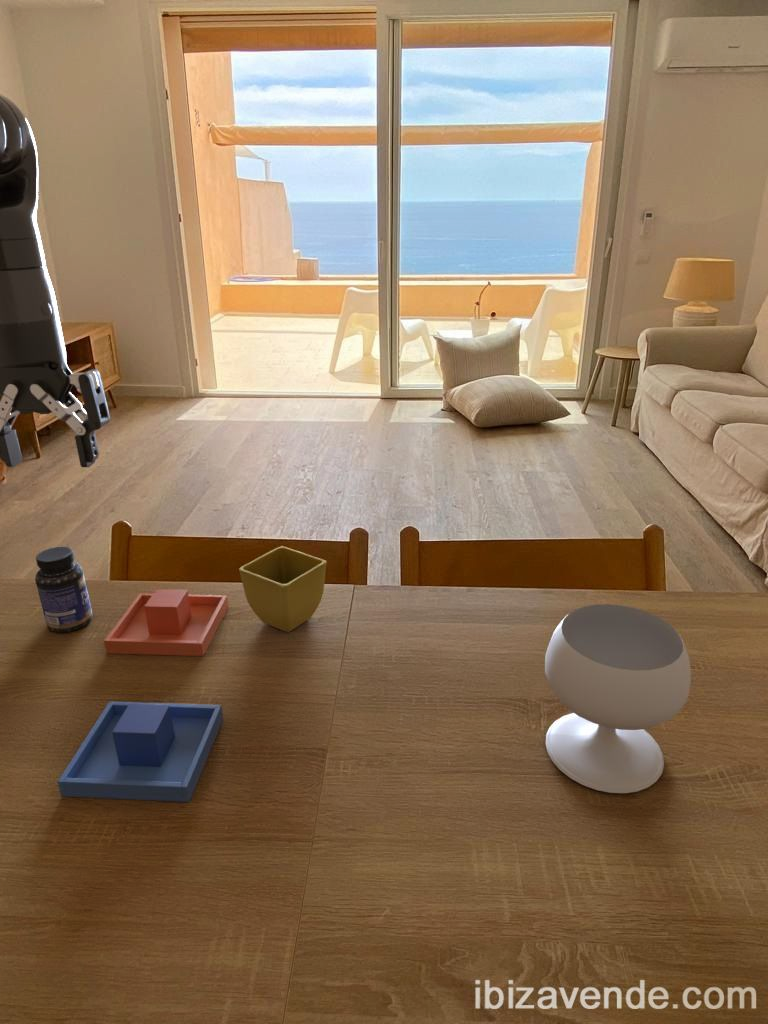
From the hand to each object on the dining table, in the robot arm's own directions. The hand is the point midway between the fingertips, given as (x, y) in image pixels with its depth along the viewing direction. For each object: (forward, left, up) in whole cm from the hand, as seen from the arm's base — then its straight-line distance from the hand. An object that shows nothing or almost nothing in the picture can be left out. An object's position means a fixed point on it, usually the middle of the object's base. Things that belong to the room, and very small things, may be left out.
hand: (51, 464), depth 77 cm
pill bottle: (-9, +11, -28) cm, 32 cm away
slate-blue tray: (+12, -14, -28) cm, 34 cm away
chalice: (+61, -11, -28) cm, 68 cm away
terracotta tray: (+6, +10, -28) cm, 30 cm away
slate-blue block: (+12, -14, -28) cm, 33 cm away
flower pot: (+22, +13, -28) cm, 38 cm away
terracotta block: (+6, +10, -28) cm, 30 cm away
